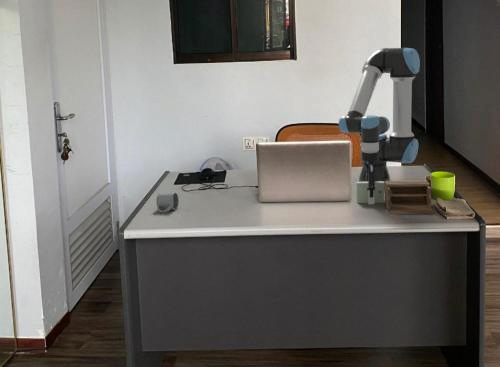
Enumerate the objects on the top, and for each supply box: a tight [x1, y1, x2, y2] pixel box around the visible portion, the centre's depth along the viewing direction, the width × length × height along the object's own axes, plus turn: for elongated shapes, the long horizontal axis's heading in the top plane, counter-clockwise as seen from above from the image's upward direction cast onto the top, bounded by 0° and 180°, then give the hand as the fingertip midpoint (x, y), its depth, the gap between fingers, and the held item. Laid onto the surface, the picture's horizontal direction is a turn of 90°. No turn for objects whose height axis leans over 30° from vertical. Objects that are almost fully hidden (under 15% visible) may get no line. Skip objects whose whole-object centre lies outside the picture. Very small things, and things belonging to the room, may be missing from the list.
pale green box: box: [355, 181, 385, 204], centre depth 339 cm, size 4×12×9 cm, turn 87°
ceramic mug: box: [156, 191, 180, 214], centre depth 337 cm, size 11×8×8 cm
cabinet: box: [384, 179, 435, 215], centre depth 326 cm, size 18×18×10 cm
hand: (370, 201), depth 340 cm, fingers open, 9 cm apart
